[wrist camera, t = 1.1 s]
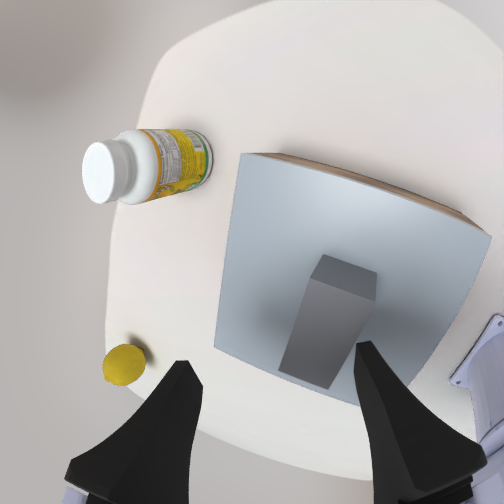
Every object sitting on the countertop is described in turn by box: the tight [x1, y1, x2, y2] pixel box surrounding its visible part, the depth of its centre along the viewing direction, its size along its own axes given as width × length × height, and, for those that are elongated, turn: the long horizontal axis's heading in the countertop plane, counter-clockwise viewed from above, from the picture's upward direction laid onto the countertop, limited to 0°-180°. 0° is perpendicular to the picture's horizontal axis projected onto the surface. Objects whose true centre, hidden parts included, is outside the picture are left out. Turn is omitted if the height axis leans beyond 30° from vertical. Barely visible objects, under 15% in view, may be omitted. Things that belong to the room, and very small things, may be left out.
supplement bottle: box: [82, 129, 212, 205], centre depth 18 cm, size 5×5×10 cm
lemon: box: [103, 344, 146, 386], centre depth 33 cm, size 6×6×8 cm
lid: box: [214, 153, 492, 407], centre depth 14 cm, size 14×14×6 cm
